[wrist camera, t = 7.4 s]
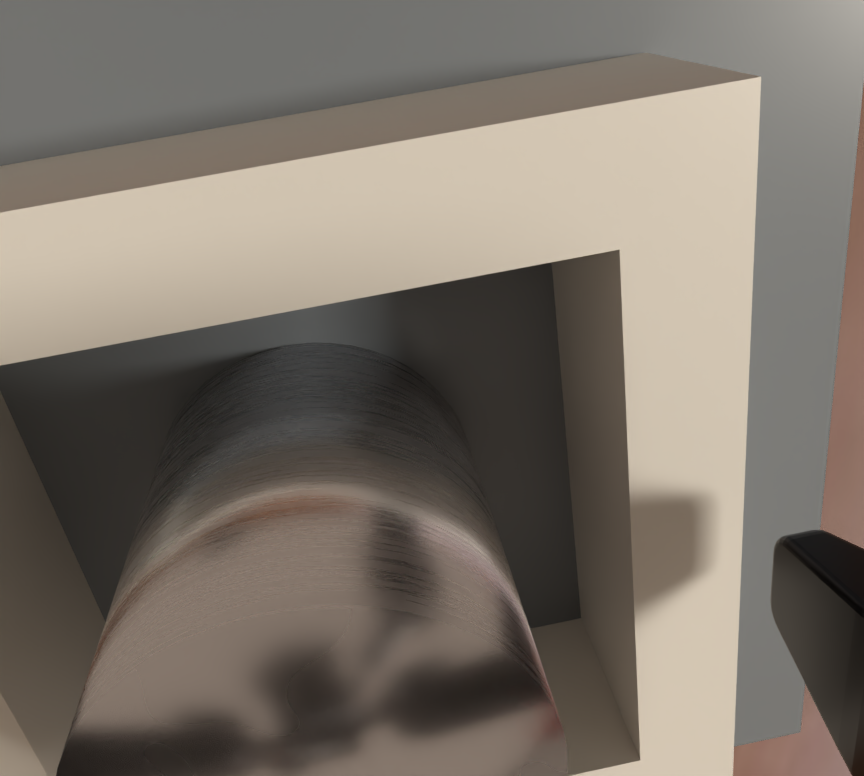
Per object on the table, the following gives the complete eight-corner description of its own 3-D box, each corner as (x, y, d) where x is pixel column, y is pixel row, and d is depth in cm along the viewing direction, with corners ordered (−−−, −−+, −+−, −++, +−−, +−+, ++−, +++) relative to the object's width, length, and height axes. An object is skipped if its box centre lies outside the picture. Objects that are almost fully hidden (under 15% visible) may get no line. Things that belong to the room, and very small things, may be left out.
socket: (848, -257, 8) (1142, -389, 5) (776, 696, 15) (891, 873, 12) (-573, -29, 8) (-1133, -38, 5) (9, 861, 14) (-72, 1091, 11)
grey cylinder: (448, 313, 10) (548, 556, 6) (487, 570, 11) (582, 894, 7) (116, 377, 9) (-37, 677, 5) (209, 627, 11) (149, 992, 7)
